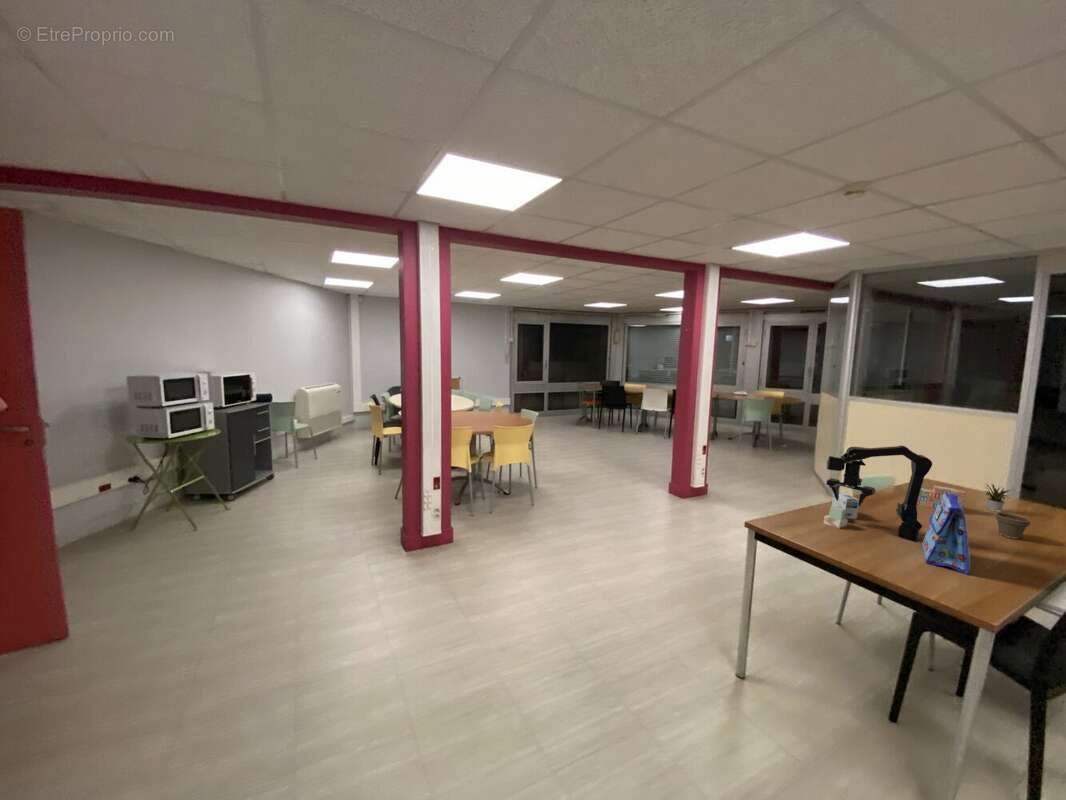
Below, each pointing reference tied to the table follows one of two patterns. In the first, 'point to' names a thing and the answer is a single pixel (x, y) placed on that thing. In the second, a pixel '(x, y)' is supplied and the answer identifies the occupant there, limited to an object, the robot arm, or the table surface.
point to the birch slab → (835, 522)
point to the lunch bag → (947, 536)
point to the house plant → (996, 498)
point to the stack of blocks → (938, 496)
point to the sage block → (837, 513)
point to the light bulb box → (847, 504)
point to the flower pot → (1011, 524)
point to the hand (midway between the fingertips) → (848, 503)
